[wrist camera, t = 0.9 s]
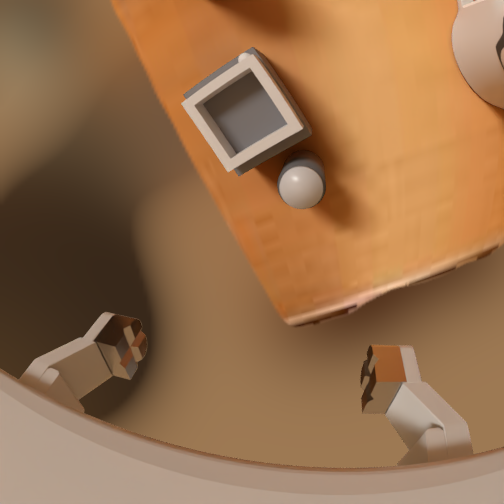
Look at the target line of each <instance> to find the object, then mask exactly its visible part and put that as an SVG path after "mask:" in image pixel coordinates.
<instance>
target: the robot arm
mask: <svg viewBox="0 0 504 504" xmlns="http://www.w3.org/2000/svg"><path fill="white" fill-rule="evenodd" d="M452 46H453V51H454V55H455V59H456V61H457V64H458V66H459V69H460V71H461V73H462V75H463V76H464V78H465V80H466V81H467V82H468V84H469V85H470V86H471V88H472V89H473V90H474V91H475V92H476V93H477V94H478V95H479V96H480V97H481V98H482V99H484V100H485V101H487V102H488V103H490V104H492V105H494V106H497V107H500V108H502V109H504V0H475V1H473V0H458V14H457V17H456V19H455V21H454V24H453V29H452ZM141 329H142V324H141V322H140V320H138V319H135V318H131V317H126V316H121V315H118V314H112V313H108V312H105V313H103V314H102V315H101V316H100V317H99V318H98V320H97V321H96V322H95V323H94V325H93V326H92V327H91V328H90V330H89V331H88V332H87V333H86V335H85V336H84V337H83V338H78V339H76V340H74V341H72V342H70V343H68V344H65V345H64V346H61V347H59V348H57V349H55V350H53V351H51V352H49V353H47V354H45V355H43V356H41V357H39V358H37V359H35V360H34V361H33V362H32V364H31V365H30V366H29V367H28V369H27V370H26V371H25V373H24V374H23V375H22V376H21V378H20V379H19V380H18V379H16V378H15V377H13V376H11V375H10V374H8V373H6V372H5V371H3V370H1V369H0V504H504V447H501V448H497V449H494V450H489V451H486V452H481V453H477V454H473V449H472V444H471V439H470V434H469V430H468V426H467V422H466V421H465V420H463V418H461V416H460V415H459V414H458V413H457V412H456V411H455V410H454V409H453V408H452V407H451V406H450V405H449V404H448V403H447V402H446V401H445V400H444V399H443V398H442V397H441V396H440V395H439V394H438V393H437V392H436V391H435V390H434V389H433V388H432V387H431V386H429V384H427V382H422V380H421V376H420V371H419V367H418V363H417V359H416V355H415V352H414V348H413V346H412V345H398V346H397V345H370V346H369V348H368V351H367V360H365V361H364V363H363V366H362V370H361V380H360V383H361V388H362V389H363V390H364V392H363V395H362V398H361V400H362V401H361V402H362V413H368V414H385V415H386V417H387V418H388V420H389V421H390V422H391V424H392V426H393V427H394V428H395V430H396V431H397V433H398V434H399V436H400V437H401V438H402V440H403V442H404V443H405V444H406V446H407V447H408V449H409V451H408V453H407V454H406V455H405V456H404V457H403V458H402V459H401V460H400V461H399V462H398V463H397V466H389V467H371V468H324V467H305V466H292V465H280V464H272V463H264V462H256V461H250V460H243V459H237V458H232V457H225V456H220V455H216V454H211V453H206V452H201V451H197V450H193V449H189V448H185V447H181V446H177V445H174V444H170V443H167V442H163V441H160V440H156V439H153V438H150V437H146V436H143V435H140V434H137V433H134V432H131V431H128V430H126V429H123V428H120V427H117V426H115V425H112V424H109V423H107V422H104V421H102V420H99V419H97V418H94V417H92V416H90V415H87V414H85V413H84V408H83V406H82V405H81V404H80V402H79V401H78V400H79V399H80V398H82V397H83V396H85V395H86V394H87V393H89V392H90V391H91V390H93V389H95V388H96V387H97V386H99V385H100V384H102V383H103V382H105V381H106V380H107V379H109V378H110V377H112V375H114V376H118V377H122V378H125V379H129V380H131V378H132V376H133V375H134V373H135V371H136V369H137V368H138V366H137V362H138V361H140V360H141V359H143V357H144V355H145V353H146V349H147V339H146V336H145V335H144V334H143V333H142V332H141V331H140V330H141Z"/></svg>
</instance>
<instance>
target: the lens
mask: <svg viewBox="0 0 504 504" xmlns="http://www.w3.org/2000/svg"><path fill="white" fill-rule="evenodd" d="M277 187H278V192H279V195H280V197H281V198H282V199H283V201H284V202H285V203H287V204H288V205H290V206H292V207H294V208H297V209H307V208H311V207H313V206H315V205H316V204H318V203H319V202H320V201H321V200H322V198H323V196H324V194H325V190H326V182H325V172H324V165H323V162H322V160H321V159H320V158H319V157H318V156H317V155H316V154H315V153H313V152H310V151H307V150H300V151H296V152H294V153H292V154H291V155H290V156H289V157H288V158H287V160H286V162H285V164H284V166H283V169H282V171H281V173H280V176H279V178H278V182H277Z"/></svg>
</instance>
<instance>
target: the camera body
mask: <svg viewBox="0 0 504 504" xmlns="http://www.w3.org/2000/svg"><path fill="white" fill-rule="evenodd" d="M184 97H185V98H186V100H185V101H184V102H182V103H181V104H182V106H183V107H184V108H185V110H186V111H187V113H188V114H189V116H190V117H191V119H192V120H193V121H194V123H195V124H196V126H197V127H198V129H199V130H200V132H201V133H202V135H203V136H204V137H205V139H206V140H207V142H208V143H209V145H210V146H211V148H212V149H213V151H214V152H215V154H216V155H217V157H218V158H219V160H220V161H221V163H222V164H223V166H224V167H225V168H226V170H227V171H228V172H229V171H231V170H233V169H234V170H235V171H236V173H237V174H238V176H240V175H242V174H244V173H245V172H247V171H249V170H251V169H252V168H254V167H256V166H257V165H259V164H261V163H263V162H264V161H266V160H268V159H270V158H271V157H273V156H275V155H277V154H278V153H280V152H282V151H284V150H286V149H287V148H289V147H291V146H293V145H295V144H297V143H298V142H300V141H302V140H304V139H306V138H308V137H309V136H311V135H312V128H311V126H310V124H309V123H308V121H307V119H306V118H305V116H304V115H303V113H302V111H301V110H300V108H299V107H298V105H297V104H296V102H295V100H294V99H293V97H292V96H291V94H290V93H289V91H288V90H287V88H286V87H285V85H284V84H283V82H282V81H281V79H280V78H279V76H278V75H277V73H276V72H275V71H274V69H273V68H272V66H271V65H270V63H269V62H268V61H267V59H266V58H265V56H264V55H263V54H262V53H261V52H259V51H258V50H257V49H255V48H254V47H252V48H250V49H248V50H247V51H245V52H244V53H242V54H241V55H239V56H237V57H236V58H234V59H233V60H231V61H230V62H228V63H227V64H225V65H224V66H222V67H221V68H219V69H218V70H216V71H215V72H214V73H212V74H211V75H209V76H208V77H206V78H205V79H204V80H202V81H201V82H200V83H198V84H197V85H195V86H194V87H193V88H191V89H190V90H189V91H187V92H186V93H185V94H184Z"/></svg>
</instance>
